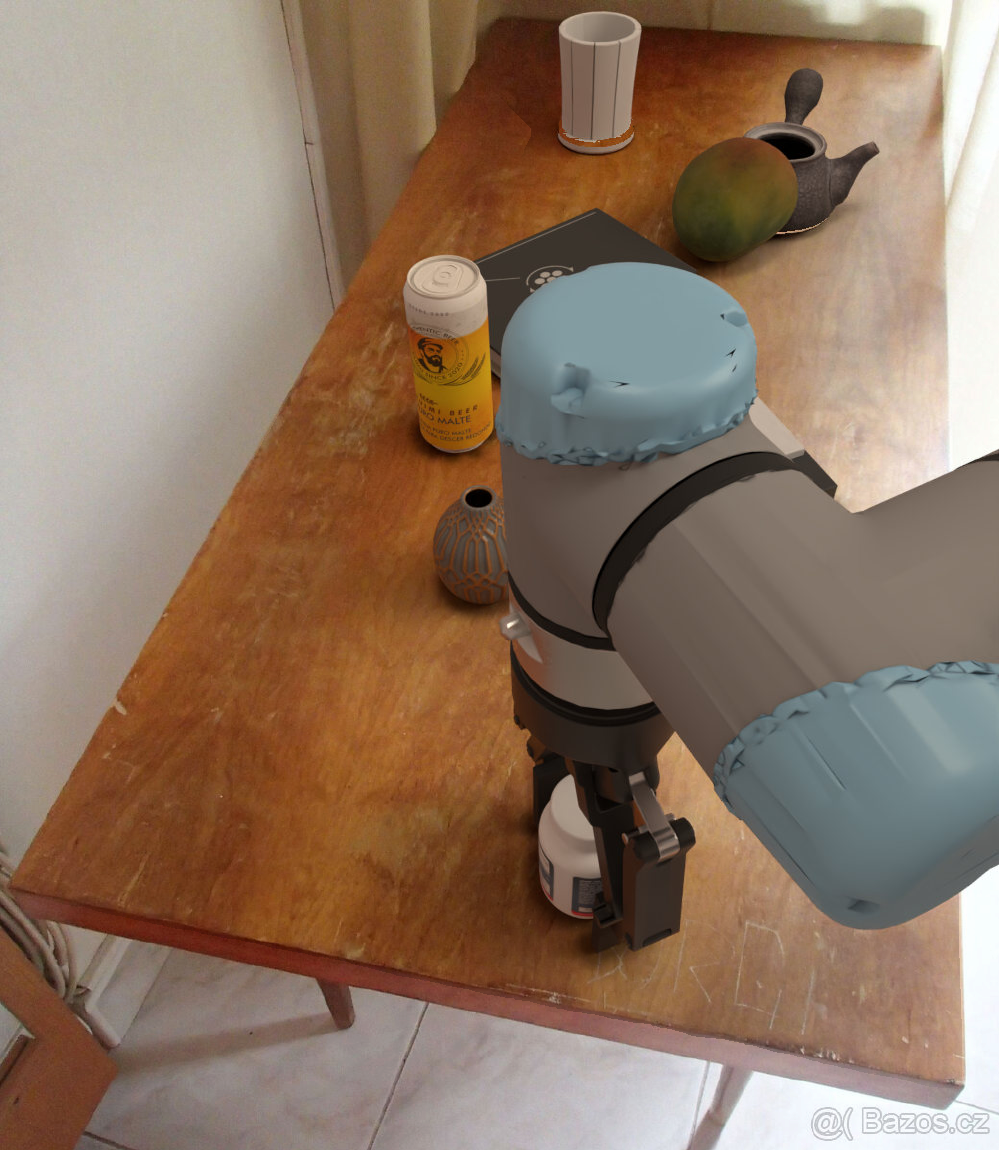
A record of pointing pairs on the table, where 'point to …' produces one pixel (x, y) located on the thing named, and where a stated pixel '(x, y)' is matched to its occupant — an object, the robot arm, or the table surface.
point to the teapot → (811, 154)
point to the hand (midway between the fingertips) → (584, 874)
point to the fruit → (733, 198)
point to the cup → (597, 77)
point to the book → (558, 264)
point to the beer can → (450, 351)
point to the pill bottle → (568, 854)
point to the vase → (473, 547)
